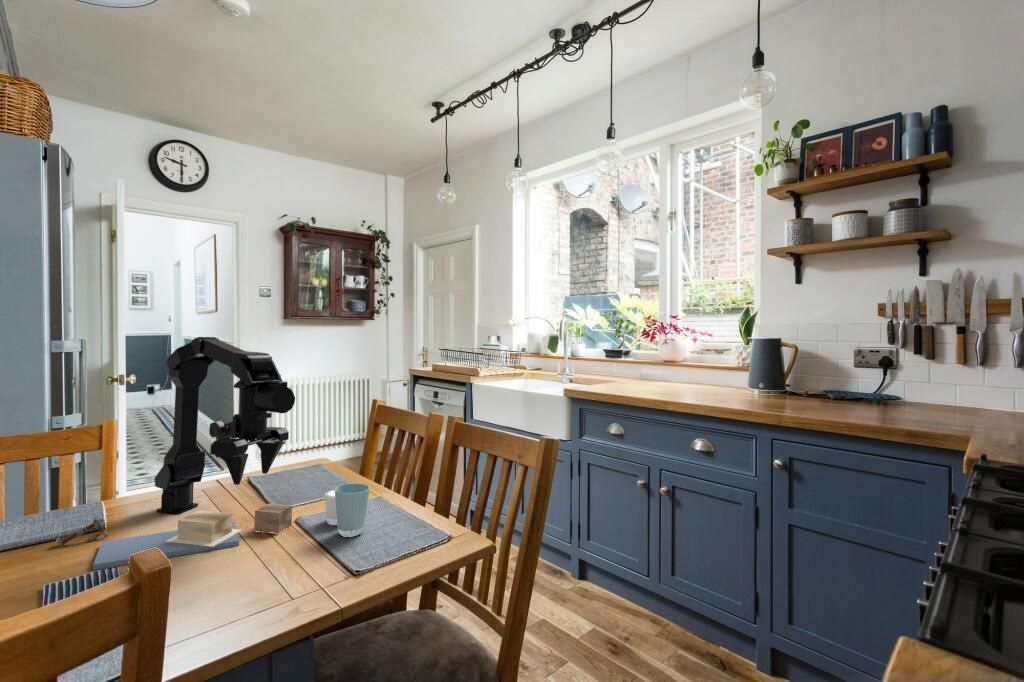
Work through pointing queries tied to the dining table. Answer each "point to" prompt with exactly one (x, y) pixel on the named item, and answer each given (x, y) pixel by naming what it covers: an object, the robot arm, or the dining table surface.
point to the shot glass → (330, 504)
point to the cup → (351, 505)
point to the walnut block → (273, 518)
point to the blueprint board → (167, 542)
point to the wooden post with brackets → (83, 530)
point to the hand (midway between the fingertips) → (251, 478)
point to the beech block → (204, 526)
